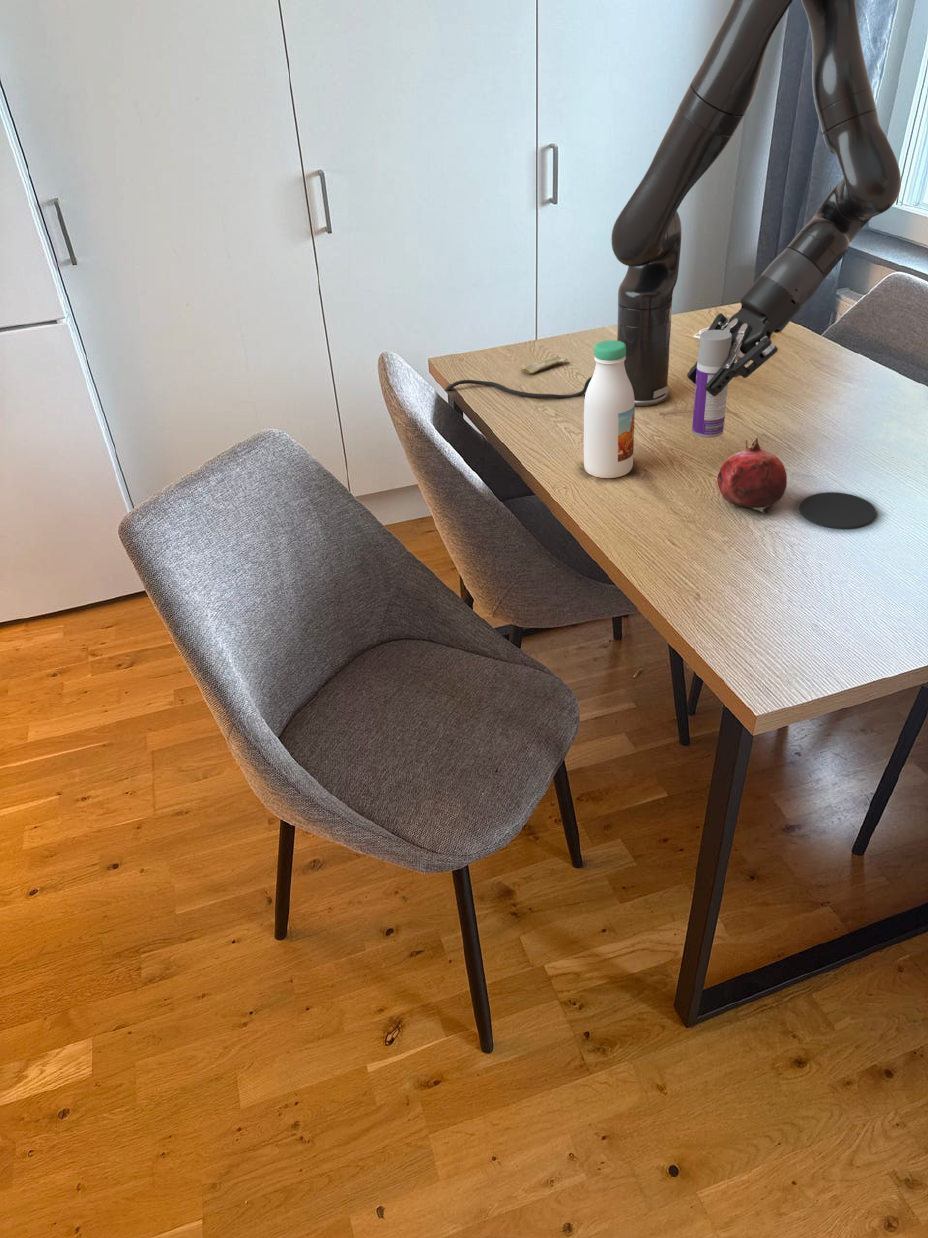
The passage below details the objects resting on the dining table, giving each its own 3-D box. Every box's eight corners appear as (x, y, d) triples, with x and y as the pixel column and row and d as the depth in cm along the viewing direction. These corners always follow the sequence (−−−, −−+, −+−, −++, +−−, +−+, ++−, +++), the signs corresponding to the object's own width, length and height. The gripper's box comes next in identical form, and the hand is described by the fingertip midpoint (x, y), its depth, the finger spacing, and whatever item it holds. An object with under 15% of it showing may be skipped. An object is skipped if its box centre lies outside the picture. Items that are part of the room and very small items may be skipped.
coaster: (790, 519, 127) (791, 517, 127) (810, 489, 134) (811, 487, 133) (865, 535, 122) (866, 532, 122) (882, 502, 129) (883, 500, 129)
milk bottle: (601, 484, 140) (603, 357, 128) (574, 466, 146) (573, 343, 134) (642, 470, 143) (647, 345, 131) (614, 453, 148) (616, 332, 137)
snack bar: (530, 372, 179) (521, 364, 181) (528, 378, 181) (520, 370, 182) (568, 359, 183) (559, 351, 185) (566, 365, 184) (558, 357, 186)
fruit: (773, 525, 126) (782, 459, 120) (706, 511, 131) (712, 447, 125) (792, 496, 132) (801, 432, 126) (728, 484, 137) (734, 422, 131)
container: (688, 426, 141) (695, 331, 133) (717, 423, 141) (726, 327, 133) (697, 439, 137) (704, 341, 129) (727, 436, 138) (737, 338, 129)
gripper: (740, 262, 134) (661, 357, 138) (797, 287, 122) (710, 389, 127) (767, 293, 138) (690, 384, 142) (825, 319, 126) (740, 417, 131)
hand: (700, 386), depth 135 cm, fingers closed on container, 4 cm apart
